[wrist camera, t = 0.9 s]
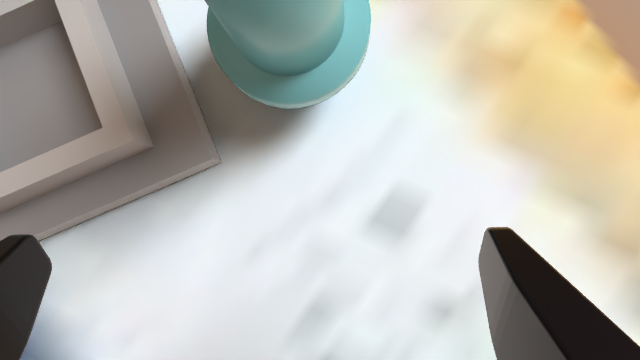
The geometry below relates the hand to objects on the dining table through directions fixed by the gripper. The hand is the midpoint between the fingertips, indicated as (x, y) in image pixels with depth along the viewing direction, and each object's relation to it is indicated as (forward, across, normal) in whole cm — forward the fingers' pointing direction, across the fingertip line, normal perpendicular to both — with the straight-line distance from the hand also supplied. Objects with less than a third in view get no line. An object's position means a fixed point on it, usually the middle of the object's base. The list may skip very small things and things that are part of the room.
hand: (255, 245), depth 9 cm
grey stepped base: (+15, +14, +2) cm, 21 cm away
